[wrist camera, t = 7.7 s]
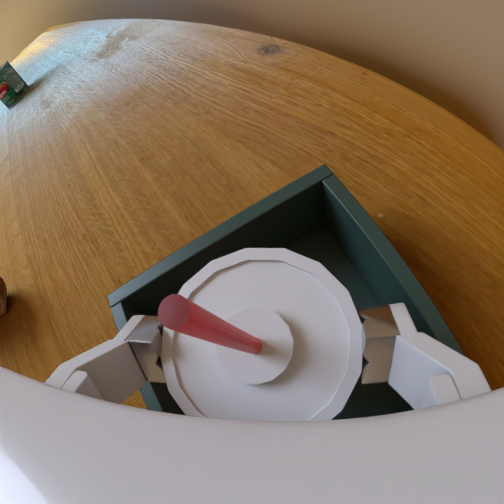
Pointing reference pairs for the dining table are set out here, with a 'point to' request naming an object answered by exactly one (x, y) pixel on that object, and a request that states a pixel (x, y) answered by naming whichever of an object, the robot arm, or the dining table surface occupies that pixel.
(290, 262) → the beverage cup
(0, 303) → the tin
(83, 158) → the dining table surface
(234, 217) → the bin
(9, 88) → the canned tomato
